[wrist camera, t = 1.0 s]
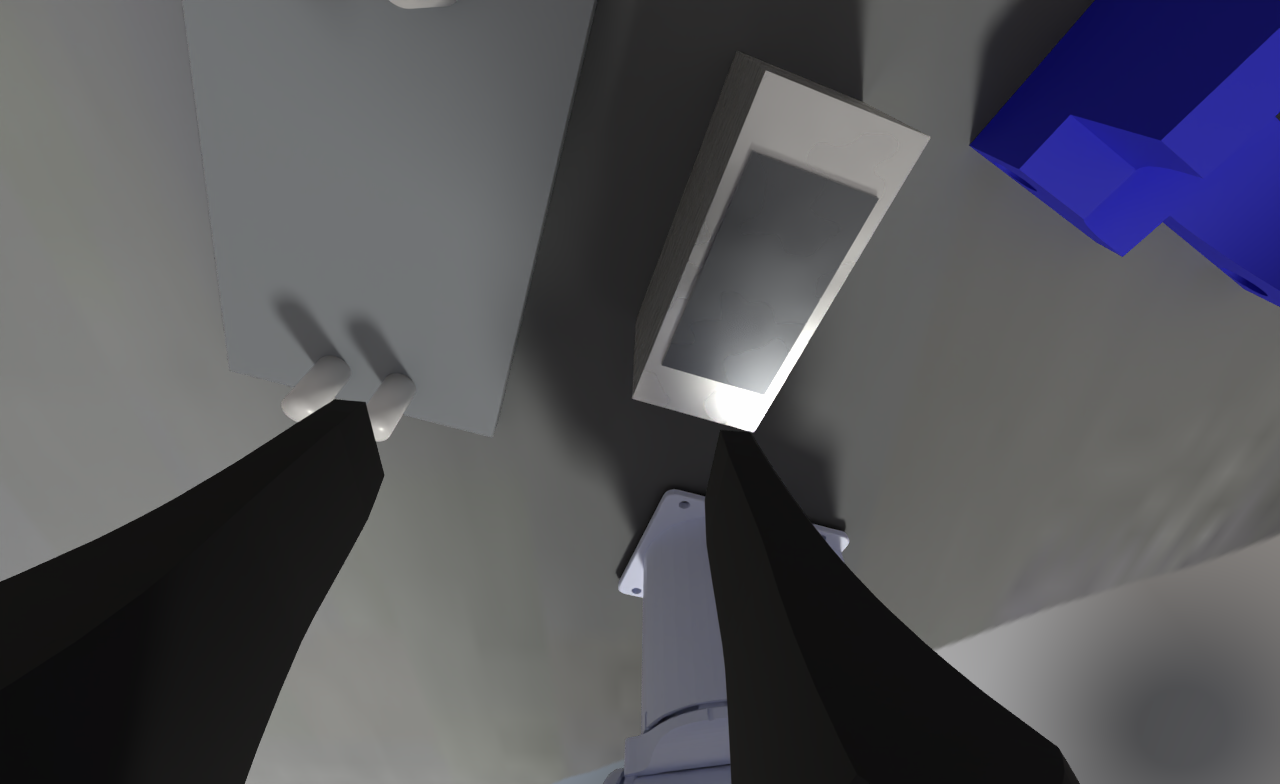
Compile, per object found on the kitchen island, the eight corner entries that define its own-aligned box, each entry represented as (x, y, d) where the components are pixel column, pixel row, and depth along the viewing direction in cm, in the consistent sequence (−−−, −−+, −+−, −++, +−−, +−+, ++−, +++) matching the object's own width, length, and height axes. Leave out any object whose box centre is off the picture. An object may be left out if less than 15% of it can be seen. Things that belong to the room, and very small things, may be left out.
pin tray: (603, -29, 14) (592, -33, 12) (498, 422, 23) (476, 481, 21) (185, -202, 13) (51, -258, 10) (245, 356, 22) (183, 411, 19)
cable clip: (966, 143, 17) (1093, 204, 12) (1103, -15, 15) (1328, -19, 10) (1196, 319, 20) (1369, 422, 15) (1337, 213, 18) (1593, 294, 13)
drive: (860, 100, 16) (933, 138, 12) (734, 348, 21) (754, 435, 17) (736, 49, 16) (766, 70, 11) (635, 318, 21) (631, 401, 16)
